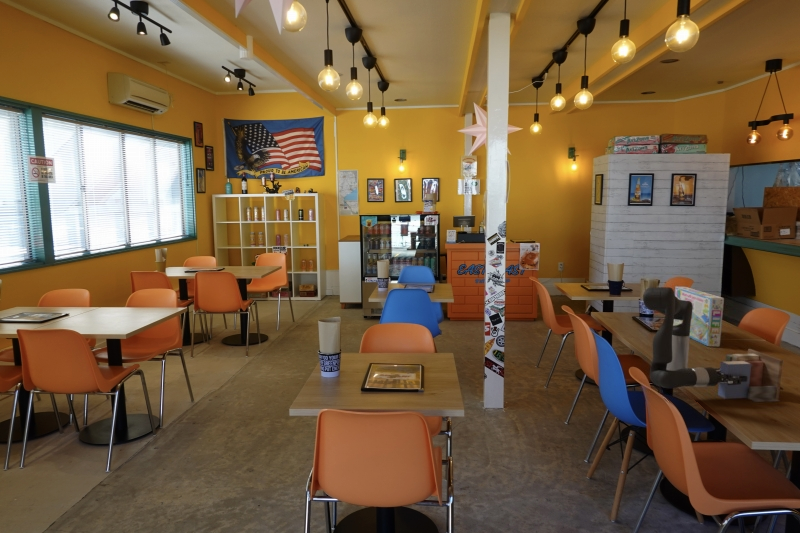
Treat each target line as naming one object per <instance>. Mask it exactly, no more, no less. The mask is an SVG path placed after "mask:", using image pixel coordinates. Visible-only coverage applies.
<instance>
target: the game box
mask: <svg viewBox="0 0 800 533" xmlns="http://www.w3.org/2000/svg"><path fill="white" fill-rule="evenodd" d="M674 294H675V296H676V297H677V298H678V299H679V300H685V301H690V302H691V303H692V305H693V310H692V317H691V325H690V337H689V339H692V340H694V341H696V342H698V343H700V344H702V345H705V346H707V347H720V346H721V337H722V336H721V335H722V324H723V314H724V312H723V311H724V303H725V298H724V297H721V296H718V295H714V294H710V293H708V292H704V291H701V290H698V289H694V288H691V287H687V286H675V289H674ZM682 322H683V321H682V320H676V319H674V323H673V326H674V325H679V324H681V323H682Z"/></svg>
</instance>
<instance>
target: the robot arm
mask: <svg viewBox="0 0 800 533" xmlns="http://www.w3.org/2000/svg"><path fill="white" fill-rule="evenodd" d="M642 295H643V296H642V302H643V305H644V306H645V308H646V309H647V310H650V311H655V312H658V313H660V314H662V315H663V316H664V319H663V322H662V323H661V325H660V327H659V329H657V332H655V334H654V337H653V339H652V345H651V346H652V361H651V365H650V369H649V379H650V381H651V382H652V384H654V385H655V386H658V387H662V388H664V389H678V388H682V387H697V388H698V387H699V388H700V387H703V388H705V387H716V386H717V385H719V382H720V383H727V385H739V384H741V382H747V379H748V377H747V376H733V375H732V374H726V373H722V372H721V371H720V368H718V367H717V368H714V367H711V366H709V367H707V366H706V367H705V366H704V367H703V366H702V367H701V366H700V367H691V368H690V367H689V368H688V362H689V349H690V348H689V347H690V338H689V337H690V325H691V317H692V310H693V305H692V303H691V302H690V301H685V300H679V299H678V298H677V297H676V296H675V290H674V289H673V288H672V287H668V286H666V287H662V286H661V287H657V286H656V287H654V286H651V287H647V288H646V289H645V290H644V292H643V294H642ZM674 319H676V320H682V321H683V322H682V323H681V324H679V325H674V326H673V323H674ZM728 376H730V378H728Z"/></svg>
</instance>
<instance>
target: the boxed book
mask: <svg viewBox="0 0 800 533" xmlns="http://www.w3.org/2000/svg"><path fill="white" fill-rule="evenodd" d="M719 367H720V371H721V372H722V373H726V374H732V375H733V376H747V377H748V379H747V382H741V384H739V385H727V383H720V382H718V389H717V393H718V394H717V396H720V397H721V398H723V399H725V400H726V399H748V390H749V382H750V371H751V364H750V363H747V362H745V361H726V360H725V361H720V366H719ZM728 378H730V376H728Z"/></svg>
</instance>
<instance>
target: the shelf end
mask: <svg viewBox="0 0 800 533" xmlns="http://www.w3.org/2000/svg"><path fill="white" fill-rule="evenodd" d="M725 361H745V362H747V363H750V364H751V371H750V382H749V390H748V398H747V400H749V401H751V402H753V403H761V402H762V403H763V402H780V401H781V400H780V391H781V389H780V387H781V381H782V370H783V363H784V362H783V360H782V359H780V358H777V357H774V356H771V355H768V354H766V353H763V352H760V351H758V350H756V349H752V348H748V349H747V353H733V354H726V355H725Z"/></svg>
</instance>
